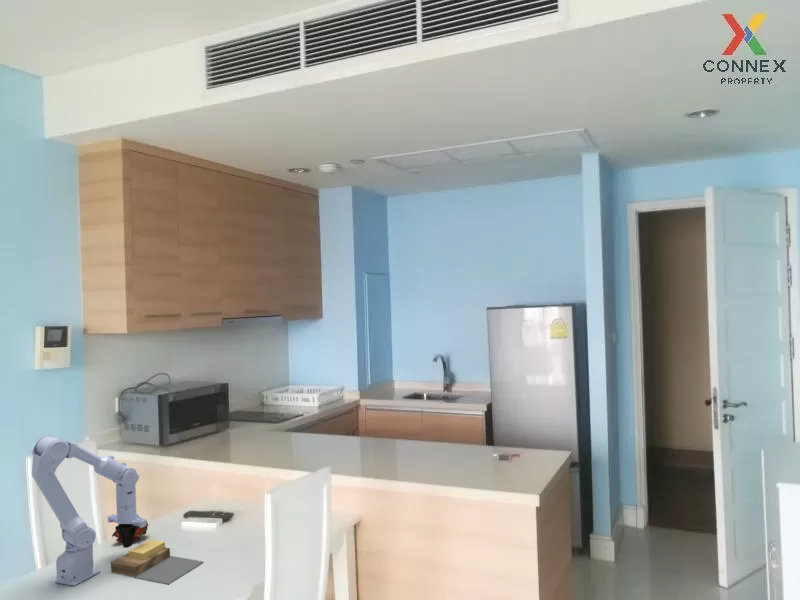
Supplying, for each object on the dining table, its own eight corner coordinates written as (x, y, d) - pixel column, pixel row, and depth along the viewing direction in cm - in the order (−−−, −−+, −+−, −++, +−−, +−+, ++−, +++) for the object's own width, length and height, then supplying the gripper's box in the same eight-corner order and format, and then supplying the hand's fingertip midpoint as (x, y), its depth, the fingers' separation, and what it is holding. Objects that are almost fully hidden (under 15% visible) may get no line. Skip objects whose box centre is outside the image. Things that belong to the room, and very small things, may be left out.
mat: (168, 584, 174) (168, 583, 174) (134, 577, 179) (134, 576, 179) (203, 562, 188) (203, 561, 188) (171, 556, 192) (171, 555, 192)
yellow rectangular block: (143, 560, 184) (143, 553, 184) (128, 557, 186) (128, 551, 186) (165, 548, 192) (164, 541, 192) (150, 545, 194) (150, 539, 194)
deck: (135, 577, 179) (135, 567, 179) (111, 572, 183) (110, 562, 183) (170, 557, 192) (169, 548, 192) (146, 553, 196) (145, 544, 196)
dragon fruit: (152, 540, 210) (115, 555, 203) (144, 521, 215) (108, 535, 208) (152, 526, 205) (115, 540, 198) (144, 507, 210) (107, 520, 203)
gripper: (153, 502, 193) (154, 544, 193) (119, 497, 198) (121, 538, 198) (136, 510, 186) (137, 553, 186) (101, 505, 192) (103, 547, 192)
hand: (127, 546), depth 192 cm, fingers closed
